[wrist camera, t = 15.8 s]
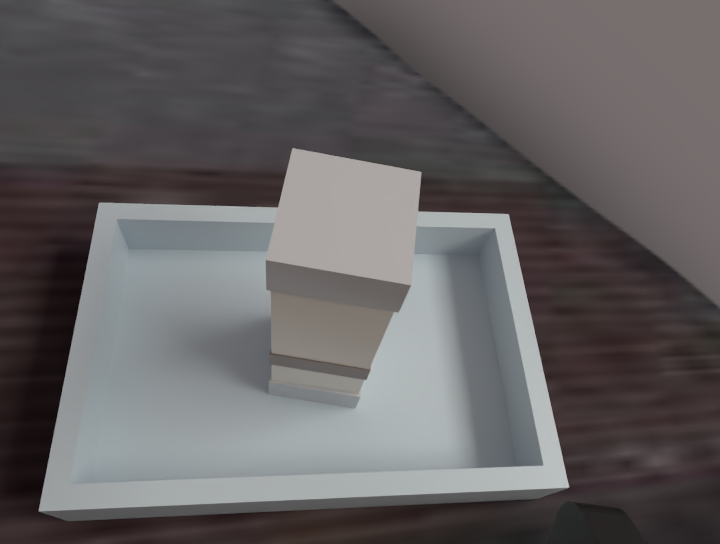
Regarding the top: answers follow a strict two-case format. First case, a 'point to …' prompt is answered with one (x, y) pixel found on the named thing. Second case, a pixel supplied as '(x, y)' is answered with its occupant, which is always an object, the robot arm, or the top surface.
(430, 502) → the parts tray
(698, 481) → the top surface
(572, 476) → the top surface
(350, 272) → the block
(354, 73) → the top surface
